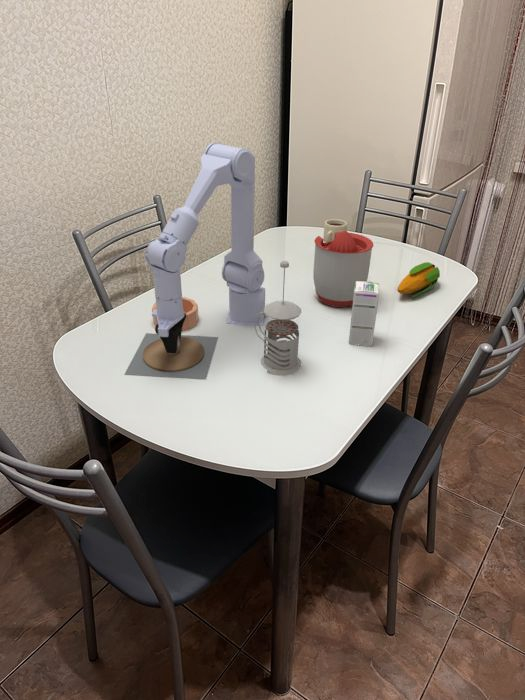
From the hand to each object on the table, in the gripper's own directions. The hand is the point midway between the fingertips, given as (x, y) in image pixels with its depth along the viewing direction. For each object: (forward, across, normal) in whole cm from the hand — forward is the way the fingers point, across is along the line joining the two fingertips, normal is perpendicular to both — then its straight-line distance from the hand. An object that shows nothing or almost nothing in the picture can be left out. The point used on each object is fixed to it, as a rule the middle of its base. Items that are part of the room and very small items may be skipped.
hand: (173, 348), depth 119 cm
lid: (+2, 0, 0) cm, 2 cm away
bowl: (+2, -16, -3) cm, 16 cm away
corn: (+2, -42, +63) cm, 75 cm away
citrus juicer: (+2, -35, +39) cm, 52 cm away
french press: (+2, 0, +24) cm, 24 cm away
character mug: (+2, -62, +39) cm, 73 cm away
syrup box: (+2, -12, +44) cm, 46 cm away
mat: (+2, 0, 0) cm, 2 cm away
